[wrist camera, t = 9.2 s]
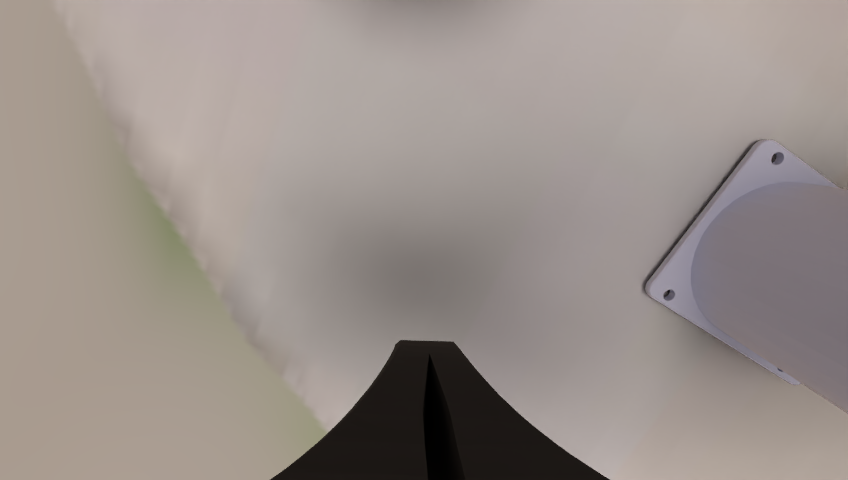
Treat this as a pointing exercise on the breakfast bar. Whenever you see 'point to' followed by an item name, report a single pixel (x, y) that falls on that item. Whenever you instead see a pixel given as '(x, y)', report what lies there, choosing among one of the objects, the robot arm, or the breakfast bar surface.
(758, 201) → the robot arm
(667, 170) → the breakfast bar surface
